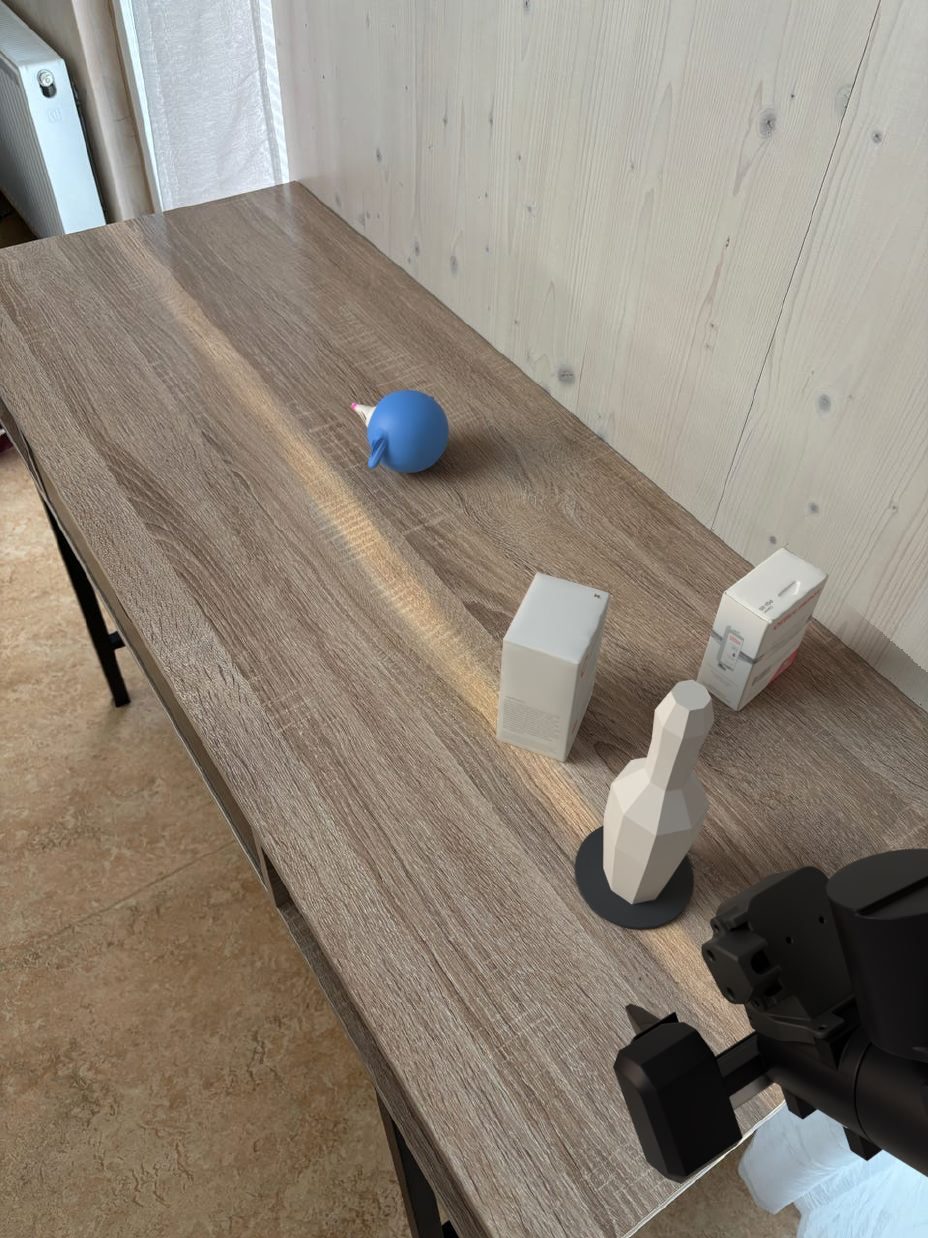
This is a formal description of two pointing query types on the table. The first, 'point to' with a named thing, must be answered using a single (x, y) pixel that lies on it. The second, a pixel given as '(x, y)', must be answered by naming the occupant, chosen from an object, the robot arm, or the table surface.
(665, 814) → the faceted bottle
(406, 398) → the blue mole toy
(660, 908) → the coaster
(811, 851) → the table surface
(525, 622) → the small box
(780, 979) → the robot arm
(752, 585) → the ink box
